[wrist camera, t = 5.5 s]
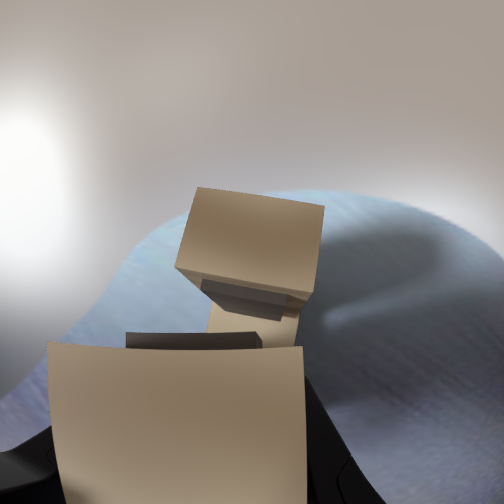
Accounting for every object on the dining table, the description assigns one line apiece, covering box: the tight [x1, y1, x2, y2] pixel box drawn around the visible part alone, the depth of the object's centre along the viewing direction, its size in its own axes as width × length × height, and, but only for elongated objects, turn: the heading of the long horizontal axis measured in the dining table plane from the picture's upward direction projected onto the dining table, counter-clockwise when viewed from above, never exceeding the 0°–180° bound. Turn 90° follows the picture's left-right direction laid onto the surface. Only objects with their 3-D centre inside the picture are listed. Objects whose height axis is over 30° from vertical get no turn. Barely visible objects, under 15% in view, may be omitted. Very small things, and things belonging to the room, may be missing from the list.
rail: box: [174, 187, 325, 348], centre depth 13 cm, size 16×5×10 cm, turn 170°
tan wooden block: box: [47, 331, 307, 504], centre depth 9 cm, size 5×4×12 cm
